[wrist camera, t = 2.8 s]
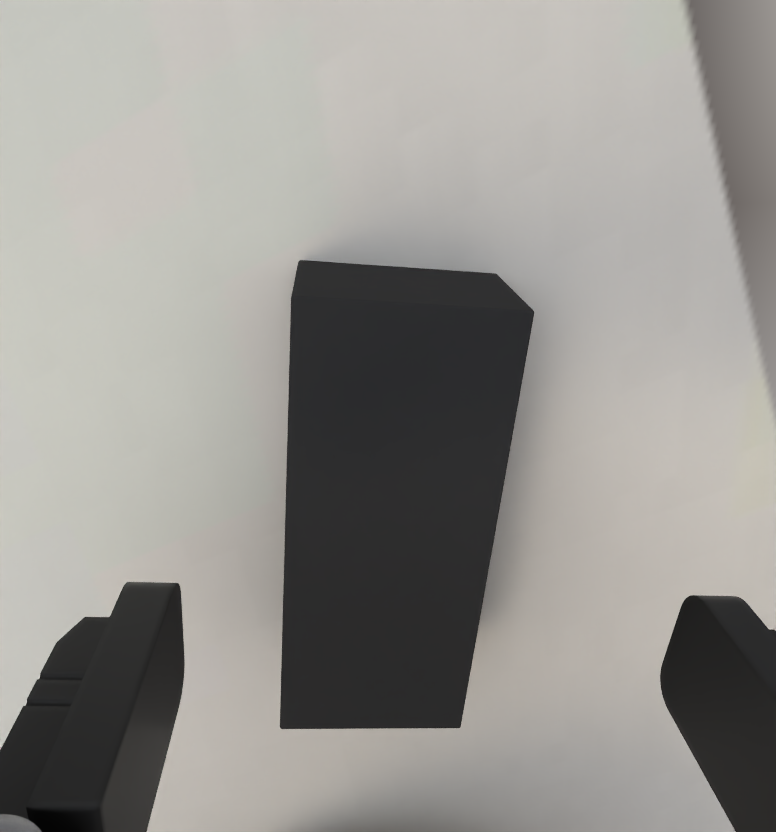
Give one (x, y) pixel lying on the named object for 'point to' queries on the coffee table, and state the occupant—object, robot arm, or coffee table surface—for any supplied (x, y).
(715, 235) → the coffee table surface
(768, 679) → the robot arm
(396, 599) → the black rectangular block
